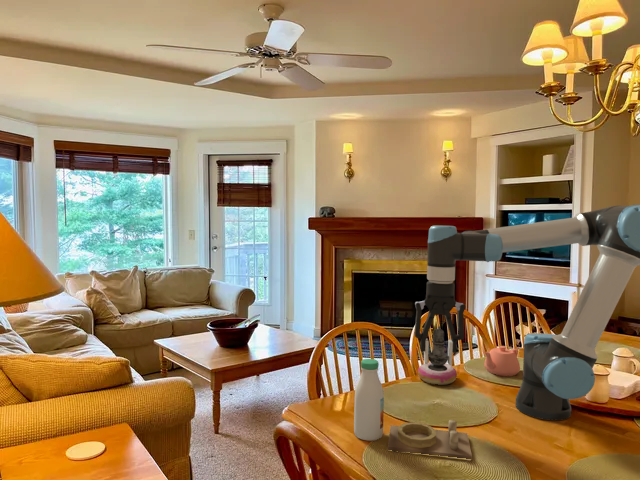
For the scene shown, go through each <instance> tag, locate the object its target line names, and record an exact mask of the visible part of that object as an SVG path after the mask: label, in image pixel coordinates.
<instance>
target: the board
mask: <svg viewBox="0 0 640 480" xmlns="http://www.w3.org/2000/svg"><path fill="white" fill-rule="evenodd" d="M457 425H458V424H457V421H456V420H454V419H449V420H448V430H441V429H440V430H439V429H435V428H434V427H432V426H431V425H429V424H425V423H422V422H413V421H411V422H405V423H402V424H401V425H395V424H394V425H393V424H391V425H390V428H389V435H388V440H387V441H388V442H387V451H388V450H392V451H398V452H410V453H421V454H429V455H438V456H439V455H440V456H448V457H457V458H466V459H472V460H473V453H472V451H471V450H472V449H471V446H470V445H471V444H470V440H469V435H468V432H459V431H458V430H457ZM398 452H397V453H398Z"/></svg>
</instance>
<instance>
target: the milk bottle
mask: <svg viewBox="0 0 640 480" xmlns="http://www.w3.org/2000/svg"><path fill="white" fill-rule="evenodd" d="M379 365H380V364H379V360H377V359H374V358H365V359H362V360H361V361H360V370H361V374H360V376H359V379H358V381H357V383H356V385H355V391H354V410H353V411H354V412H353V416H354V417H353V418H354V419H353V432H354V435H355V437H356V438H357V439H359V440H362V441H368V442H369V441H370V442H373V441H378V440H380V439H381V438H382V437H383V436H384V413H385V411H384V410H385V406H384V405H385V401H384V399H385V398H384V388H383V385H382V383H381V379H380V377H379V373H378V371H379ZM379 438H380V439H379ZM377 439H378V440H377Z"/></svg>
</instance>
